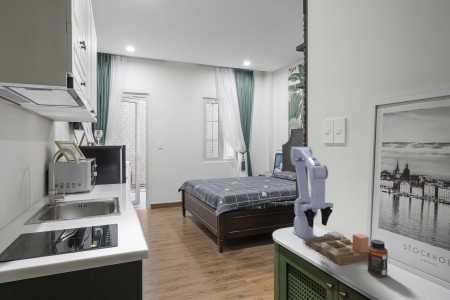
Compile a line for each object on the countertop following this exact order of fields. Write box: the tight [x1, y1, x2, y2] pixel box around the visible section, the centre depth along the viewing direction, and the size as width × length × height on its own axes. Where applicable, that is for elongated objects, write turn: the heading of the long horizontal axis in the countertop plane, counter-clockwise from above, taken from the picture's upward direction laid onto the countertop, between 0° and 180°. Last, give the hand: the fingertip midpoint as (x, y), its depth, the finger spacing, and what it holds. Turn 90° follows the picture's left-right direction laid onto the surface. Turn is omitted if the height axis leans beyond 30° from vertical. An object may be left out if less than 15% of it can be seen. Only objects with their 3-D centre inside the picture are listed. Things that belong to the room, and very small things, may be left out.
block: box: [326, 231, 344, 241], centre depth 114 cm, size 4×4×3 cm
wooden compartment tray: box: [305, 233, 368, 266], centre depth 110 cm, size 21×16×4 cm
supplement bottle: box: [367, 239, 389, 278], centre depth 91 cm, size 6×6×11 cm
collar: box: [322, 240, 353, 256], centre depth 104 cm, size 8×8×2 cm
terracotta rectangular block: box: [352, 233, 370, 253], centre depth 104 cm, size 4×4×6 cm
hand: (317, 225), depth 111 cm, fingers open, 6 cm apart
